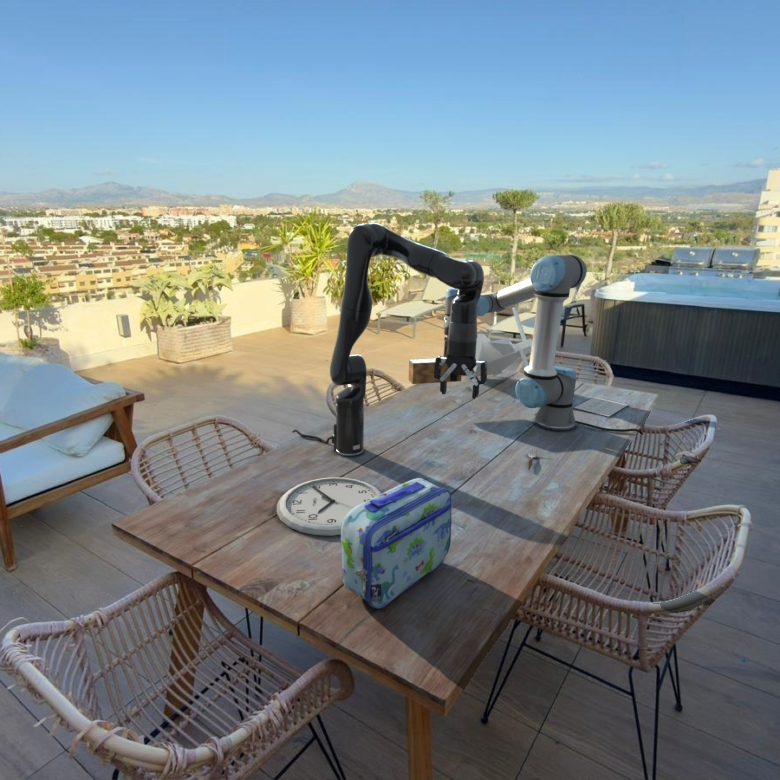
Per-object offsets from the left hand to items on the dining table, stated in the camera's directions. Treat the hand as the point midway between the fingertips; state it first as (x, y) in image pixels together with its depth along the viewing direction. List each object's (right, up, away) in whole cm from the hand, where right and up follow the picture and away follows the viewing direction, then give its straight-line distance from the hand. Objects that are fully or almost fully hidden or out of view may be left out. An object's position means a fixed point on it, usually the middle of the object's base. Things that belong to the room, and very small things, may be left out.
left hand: (459, 395), depth 144 cm
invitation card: (+72, -6, +82) cm, 110 cm away
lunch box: (-17, -40, -31) cm, 53 cm away
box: (0, +6, +81) cm, 81 cm away
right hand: (+7, +7, +82) cm, 83 cm away
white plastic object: (+35, +4, +112) cm, 118 cm away
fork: (+27, -22, +27) cm, 44 cm away
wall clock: (-35, -30, -1) cm, 46 cm away
